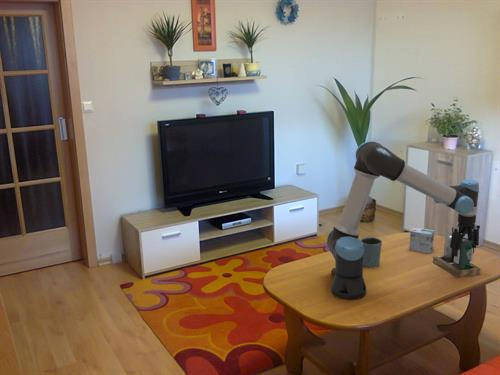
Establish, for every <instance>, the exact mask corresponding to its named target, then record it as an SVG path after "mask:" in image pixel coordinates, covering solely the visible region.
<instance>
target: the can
mask: <svg viewBox="0 0 500 375" xmlns="http://www.w3.org/2000/svg"><path fill="white" fill-rule="evenodd" d="M459 250H460V256H459V264H457V263H455V267H456V268H458V269H460V270H466V269H470V263H471V262H472V261H471V251H472V240H470V239H468V237H463V239H462V242H461V244H460V247H459Z"/></svg>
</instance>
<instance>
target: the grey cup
mask: <svg viewBox="0 0 500 375" xmlns="http://www.w3.org/2000/svg"><path fill="white" fill-rule="evenodd" d="M360 241H361V242H362V243H363V247H364V254H363V267H366V268H376V267H378V266H380V259H381V251H382V244H383V241H382V239H380V238H378V237H371V236H369V237H363V238H361V239H360Z"/></svg>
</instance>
